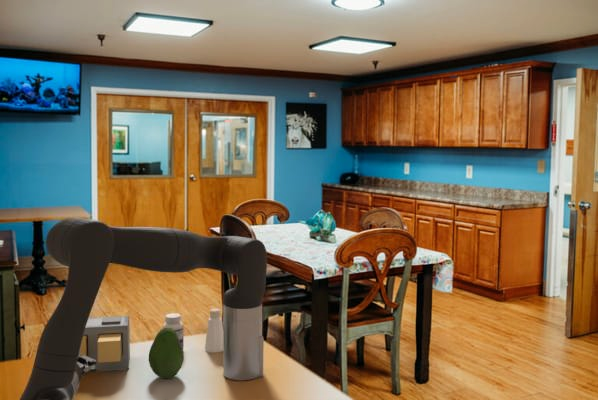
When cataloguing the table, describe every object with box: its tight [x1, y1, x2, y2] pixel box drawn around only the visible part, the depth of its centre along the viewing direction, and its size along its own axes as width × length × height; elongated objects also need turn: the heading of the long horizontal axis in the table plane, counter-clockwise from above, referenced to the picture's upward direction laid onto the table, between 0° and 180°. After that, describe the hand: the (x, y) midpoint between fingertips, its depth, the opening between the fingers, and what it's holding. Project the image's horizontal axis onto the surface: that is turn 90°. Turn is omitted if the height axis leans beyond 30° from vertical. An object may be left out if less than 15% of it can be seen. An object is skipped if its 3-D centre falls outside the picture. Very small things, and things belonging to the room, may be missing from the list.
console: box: [83, 315, 131, 373], centre depth 145 cm, size 16×8×12 cm, turn 103°
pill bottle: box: [162, 312, 185, 350], centre depth 157 cm, size 5×5×10 cm
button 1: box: [78, 335, 88, 356], centre depth 143 cm, size 5×8×5 cm, turn 13°
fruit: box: [148, 327, 184, 380], centre depth 139 cm, size 8×8×12 cm
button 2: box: [98, 333, 122, 363], centre depth 141 cm, size 5×8×5 cm, turn 13°
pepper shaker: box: [204, 307, 223, 354], centre depth 158 cm, size 5×5×11 cm
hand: (72, 353), depth 136 cm, fingers closed
